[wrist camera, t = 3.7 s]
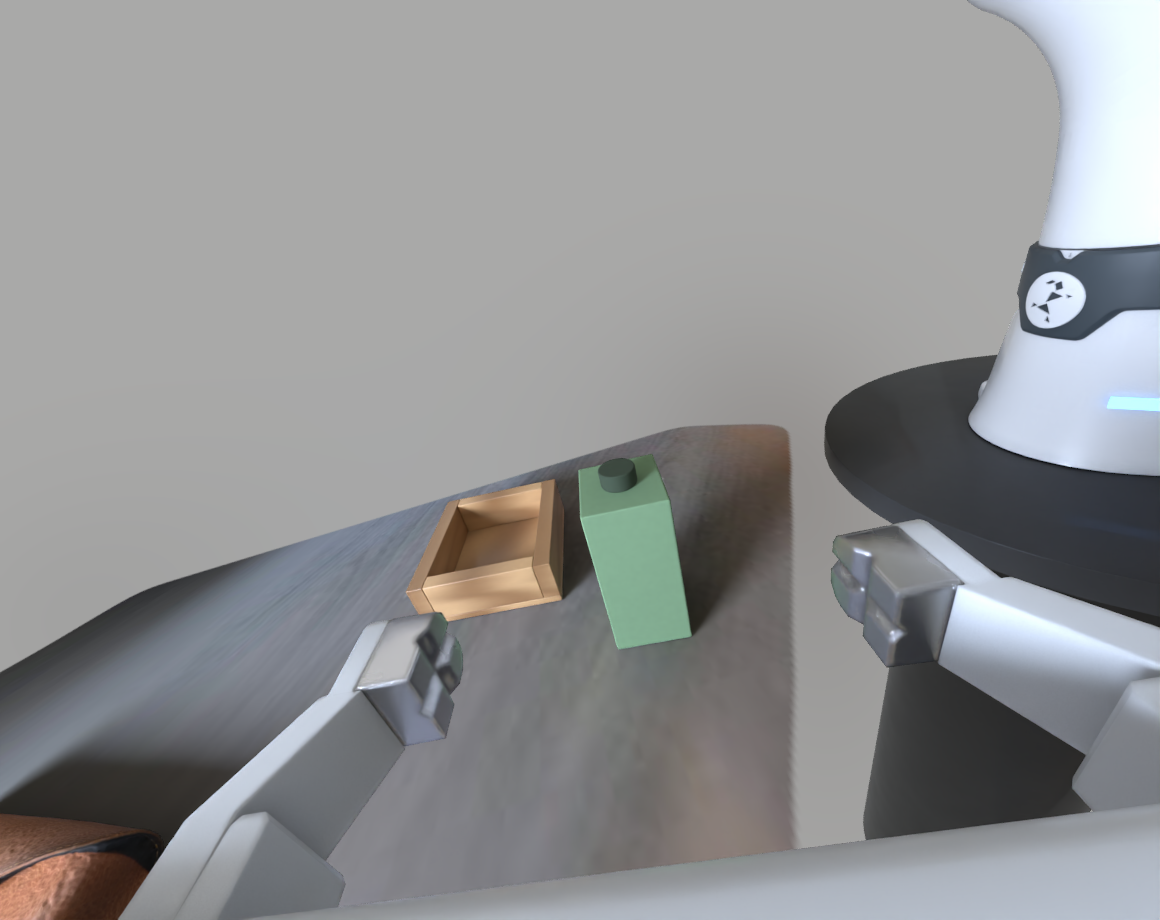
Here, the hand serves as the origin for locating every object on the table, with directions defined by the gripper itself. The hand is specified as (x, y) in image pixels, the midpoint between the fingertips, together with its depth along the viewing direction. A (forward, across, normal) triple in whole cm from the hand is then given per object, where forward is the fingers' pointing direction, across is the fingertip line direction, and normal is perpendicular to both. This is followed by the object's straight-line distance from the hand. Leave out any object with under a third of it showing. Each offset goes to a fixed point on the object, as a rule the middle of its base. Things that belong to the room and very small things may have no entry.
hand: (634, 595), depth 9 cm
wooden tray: (+21, +11, +15) cm, 28 cm away
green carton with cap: (+13, 0, +15) cm, 20 cm away
